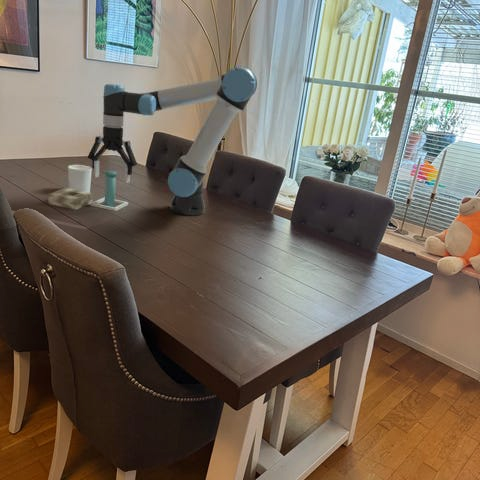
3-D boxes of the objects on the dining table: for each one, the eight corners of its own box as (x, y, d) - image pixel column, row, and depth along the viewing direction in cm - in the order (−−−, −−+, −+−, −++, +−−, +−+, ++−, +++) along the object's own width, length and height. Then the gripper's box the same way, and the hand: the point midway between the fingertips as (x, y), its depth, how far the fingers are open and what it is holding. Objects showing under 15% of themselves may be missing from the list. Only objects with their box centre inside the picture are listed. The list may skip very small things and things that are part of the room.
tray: (127, 206, 189) (128, 202, 188) (115, 213, 179) (115, 208, 178) (104, 201, 191) (104, 197, 190) (90, 207, 181) (90, 203, 180)
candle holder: (76, 198, 190) (76, 170, 185) (62, 192, 195) (63, 165, 191) (95, 195, 197) (96, 169, 193) (82, 190, 202) (83, 164, 198)
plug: (117, 205, 186) (119, 172, 182) (112, 208, 182) (113, 174, 177) (106, 203, 187) (108, 170, 182) (101, 205, 183) (102, 172, 178)
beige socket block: (92, 204, 185) (92, 193, 183) (76, 212, 174) (76, 199, 172) (66, 199, 187) (66, 187, 185) (48, 206, 176) (48, 193, 174)
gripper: (147, 130, 175) (144, 183, 182) (89, 121, 179) (88, 173, 186) (138, 131, 168) (136, 186, 175) (78, 122, 172) (78, 176, 180)
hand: (111, 179), depth 181 cm, fingers open, 13 cm apart
